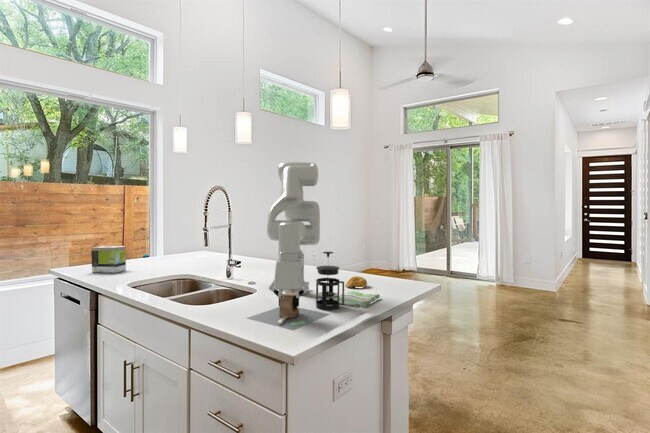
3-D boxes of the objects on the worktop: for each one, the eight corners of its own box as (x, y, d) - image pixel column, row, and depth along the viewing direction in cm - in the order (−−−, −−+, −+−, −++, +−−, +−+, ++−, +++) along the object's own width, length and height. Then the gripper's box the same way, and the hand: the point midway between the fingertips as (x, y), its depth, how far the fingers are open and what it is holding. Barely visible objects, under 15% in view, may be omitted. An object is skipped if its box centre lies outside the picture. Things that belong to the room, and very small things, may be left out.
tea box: (126, 270, 226) (126, 245, 225) (115, 273, 216) (115, 247, 215) (103, 269, 227) (102, 245, 227) (91, 272, 217) (90, 247, 217)
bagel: (341, 286, 190) (341, 276, 190) (360, 284, 194) (360, 275, 194) (351, 290, 181) (351, 280, 181) (370, 288, 185) (371, 278, 185)
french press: (310, 312, 143) (310, 252, 142) (318, 306, 152) (318, 249, 151) (340, 315, 140) (341, 254, 139) (346, 309, 149) (347, 251, 148)
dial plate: (285, 308, 148) (285, 304, 148) (329, 318, 137) (329, 313, 137) (246, 322, 131) (246, 317, 131) (293, 334, 119) (293, 329, 119)
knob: (284, 310, 139) (284, 291, 139) (302, 312, 138) (302, 293, 138) (269, 323, 125) (269, 302, 125) (289, 325, 123) (289, 303, 123)
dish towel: (320, 306, 154) (320, 297, 154) (347, 294, 174) (347, 287, 173) (358, 313, 145) (358, 304, 145) (381, 300, 165) (381, 292, 164)
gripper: (313, 255, 137) (312, 305, 137) (266, 255, 137) (266, 305, 137) (312, 258, 129) (312, 311, 130) (263, 258, 129) (263, 311, 130)
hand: (288, 307), depth 134 cm, fingers closed on knob, 4 cm apart
